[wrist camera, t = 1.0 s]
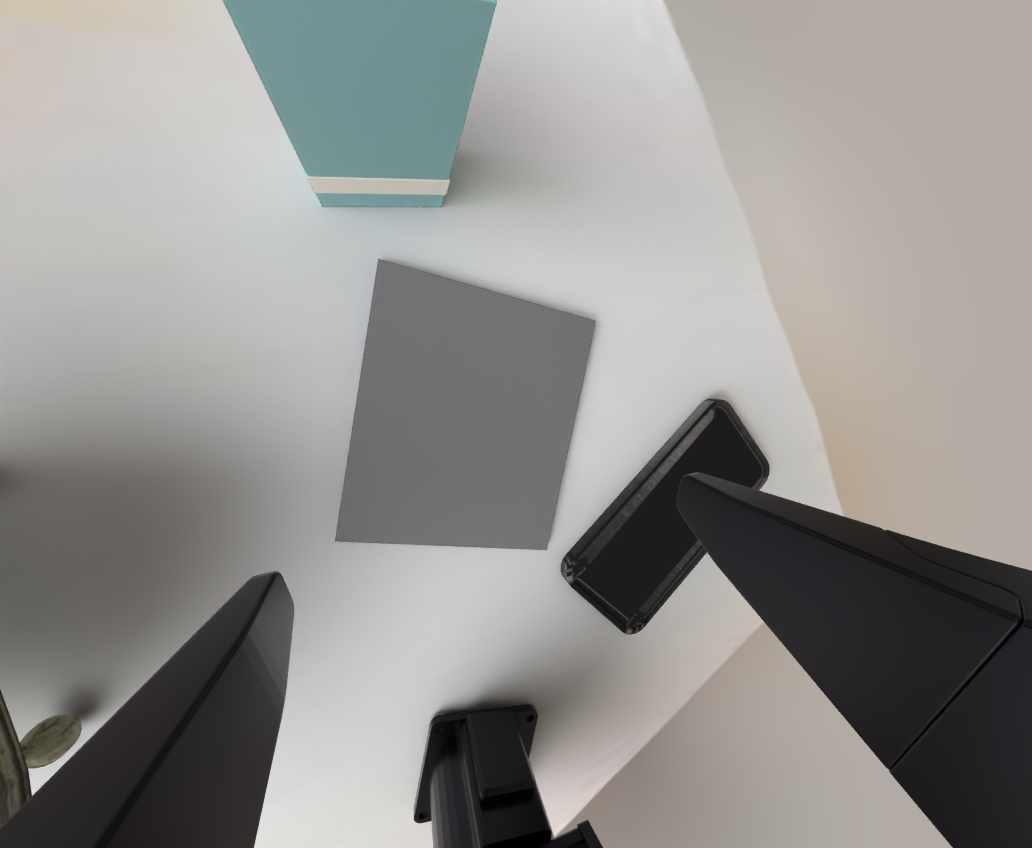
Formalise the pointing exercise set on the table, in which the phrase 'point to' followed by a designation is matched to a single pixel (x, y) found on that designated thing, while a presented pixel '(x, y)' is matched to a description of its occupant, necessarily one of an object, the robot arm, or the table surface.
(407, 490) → the felt mat
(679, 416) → the table surface
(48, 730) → the tabletop clock
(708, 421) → the phone
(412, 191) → the box
